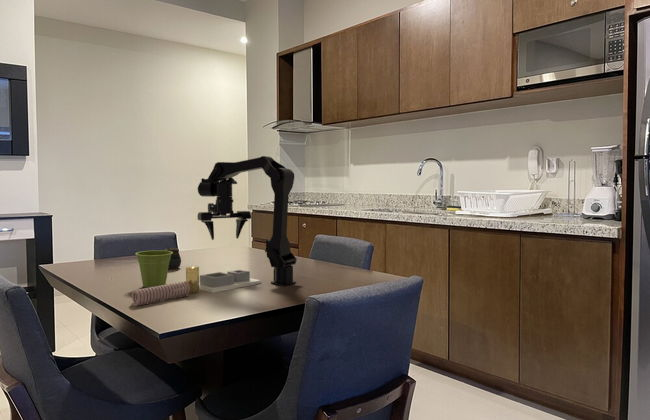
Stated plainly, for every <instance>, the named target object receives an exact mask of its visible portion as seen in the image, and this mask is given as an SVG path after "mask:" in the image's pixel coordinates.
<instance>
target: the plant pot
mask: <svg viewBox="0 0 650 420" xmlns="http://www.w3.org/2000/svg"><path fill="white" fill-rule="evenodd" d="M172 253H173V252H171V251H165V250H161V249H160V250H159V249H158V250H157V249H156V250H143V251H138V252H136V253H135V256H136V258H137V262H138V265H139V270H140V276H141V281H142V286H143V287H144V288H150V287H155V286H160V285H166V284H167V278H168V273H169V272H168V271H169V269H168V267H169V261H170V258H171V254H172Z"/></svg>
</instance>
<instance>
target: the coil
mask: <svg viewBox="0 0 650 420" xmlns="http://www.w3.org/2000/svg"><path fill="white" fill-rule="evenodd" d="M186 286H187V287H186ZM189 290H190V288H189V284H188V283H187V282H186V280H185V281H178V282H175V283H173V282H172V283H166V285H160V286H155V287H150V288H147V287H144V288H140V289H139V288H138V289H134V290H132V293H131V300H132V303H131V304H130V305H131V306H132V307H138V306H144V305H148V304H154V303H157V302H158V303H159V302H164V301H169V300H174V299H179V298H183V297H187V296H189V295H190V294H189Z"/></svg>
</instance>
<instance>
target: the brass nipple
mask: <svg viewBox="0 0 650 420" xmlns="http://www.w3.org/2000/svg"><path fill="white" fill-rule="evenodd" d="M185 281H186V282H187V283H188V284H189V288H190V290H189V294H188V295H195V294H199V293H200V289H199V283H200V267H199V266H197V265H195V266H192V265H191V266H186V267H185ZM186 287H187V286H186Z"/></svg>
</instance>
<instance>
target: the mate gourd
mask: <svg viewBox="0 0 650 420" xmlns="http://www.w3.org/2000/svg"><path fill="white" fill-rule="evenodd" d="M164 251H171V252H173V253H172V254H171V258H170V261H169V267H168V270H177V269H179V268H180V267H181V264H182V259H181V258H182V257H181V255H180V249H179V248H177V247H172V248H171V247H170V248H169V245H166V248H165V249H164Z"/></svg>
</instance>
